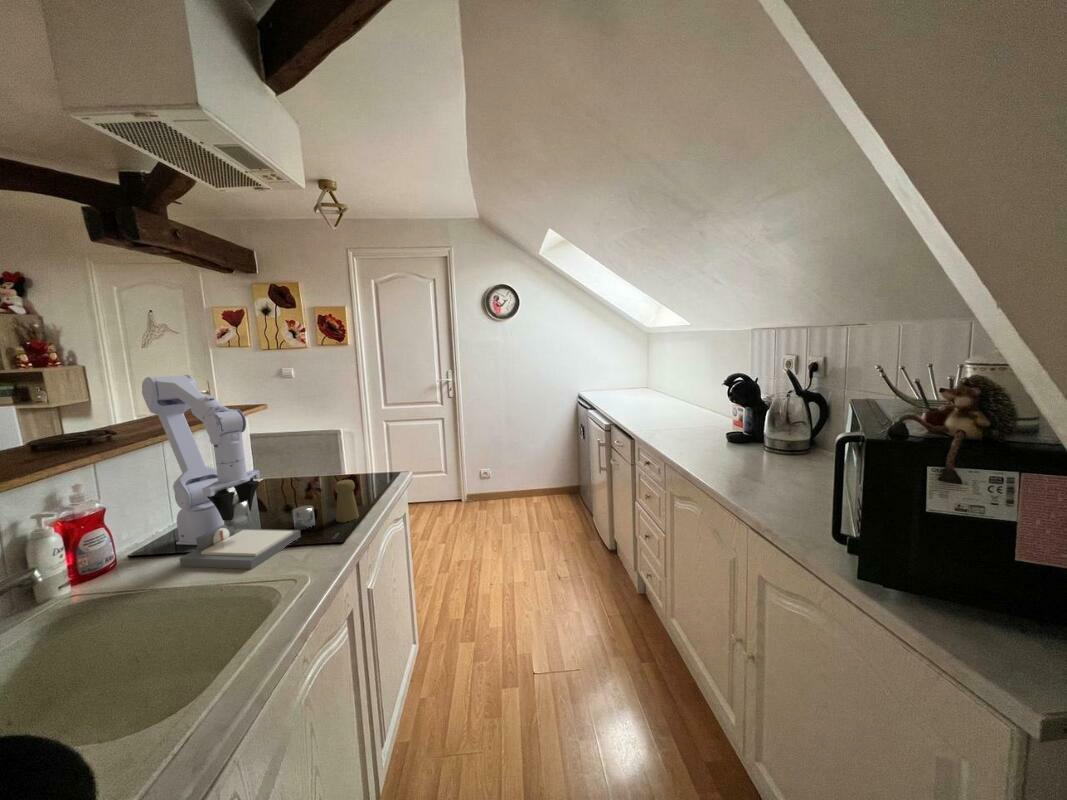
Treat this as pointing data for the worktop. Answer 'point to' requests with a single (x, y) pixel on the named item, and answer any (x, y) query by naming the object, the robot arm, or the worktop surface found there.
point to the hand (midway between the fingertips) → (237, 515)
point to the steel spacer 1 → (239, 513)
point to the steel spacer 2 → (303, 517)
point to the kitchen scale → (237, 547)
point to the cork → (346, 501)
